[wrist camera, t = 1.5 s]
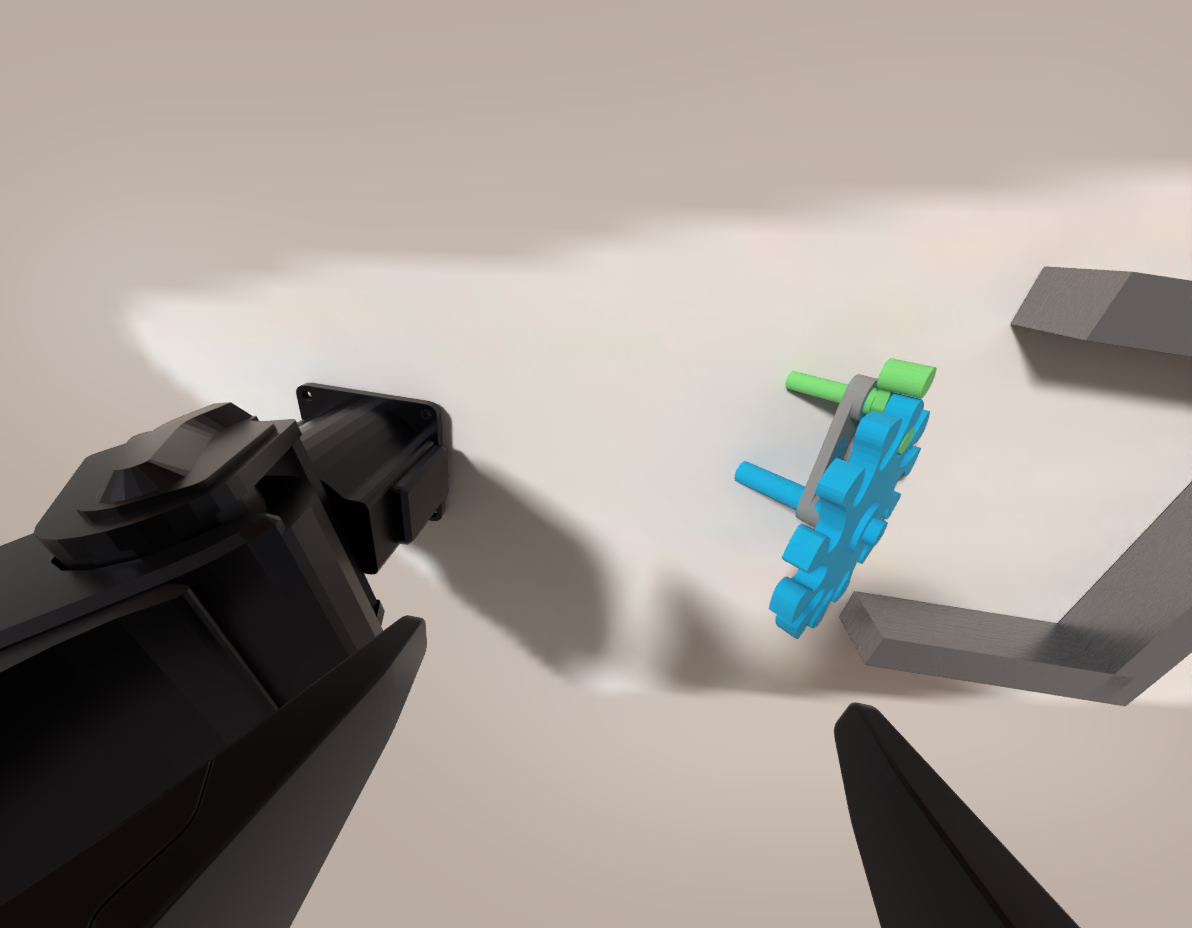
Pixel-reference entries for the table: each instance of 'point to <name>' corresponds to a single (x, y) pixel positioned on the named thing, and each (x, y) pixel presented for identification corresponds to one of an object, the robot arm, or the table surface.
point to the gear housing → (1126, 591)
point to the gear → (845, 484)
